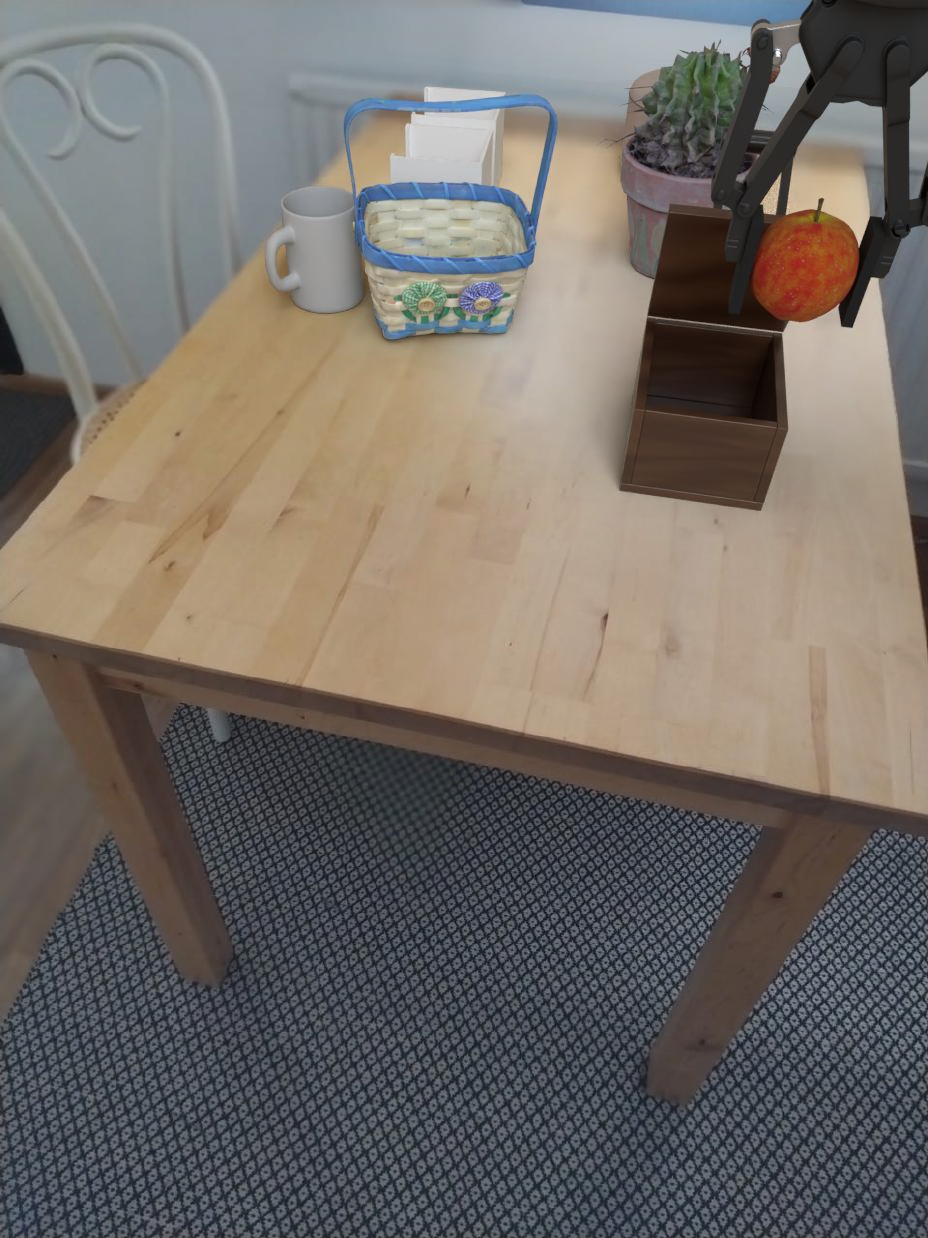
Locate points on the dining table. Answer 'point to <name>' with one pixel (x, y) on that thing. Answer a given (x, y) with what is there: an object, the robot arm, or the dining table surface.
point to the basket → (447, 238)
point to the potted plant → (679, 145)
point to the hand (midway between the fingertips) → (789, 310)
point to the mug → (318, 250)
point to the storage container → (452, 143)
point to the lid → (709, 261)
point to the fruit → (804, 265)
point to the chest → (706, 414)
